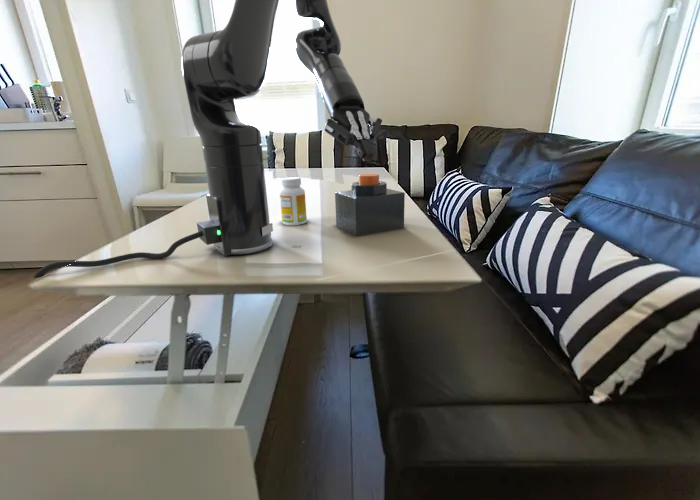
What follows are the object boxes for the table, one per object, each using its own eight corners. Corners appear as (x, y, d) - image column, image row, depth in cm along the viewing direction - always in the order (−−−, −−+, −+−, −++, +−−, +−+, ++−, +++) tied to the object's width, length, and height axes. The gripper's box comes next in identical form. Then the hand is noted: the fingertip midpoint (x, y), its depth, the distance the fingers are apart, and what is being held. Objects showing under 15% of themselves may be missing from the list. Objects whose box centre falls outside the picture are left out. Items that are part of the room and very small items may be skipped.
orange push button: (365, 187, 69) (365, 176, 68) (355, 185, 72) (355, 174, 71) (382, 185, 70) (382, 175, 70) (372, 183, 74) (372, 173, 73)
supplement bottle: (305, 218, 82) (302, 176, 79) (308, 224, 77) (305, 179, 74) (281, 220, 81) (277, 177, 78) (283, 226, 76) (279, 180, 73)
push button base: (356, 236, 68) (355, 188, 65) (336, 226, 75) (334, 183, 72) (404, 228, 72) (405, 183, 69) (380, 219, 80) (380, 178, 77)
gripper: (315, 79, 70) (343, 145, 64) (373, 81, 76) (405, 142, 69) (307, 110, 76) (332, 173, 70) (362, 109, 82) (390, 168, 75)
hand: (368, 158), depth 69 cm, fingers closed
